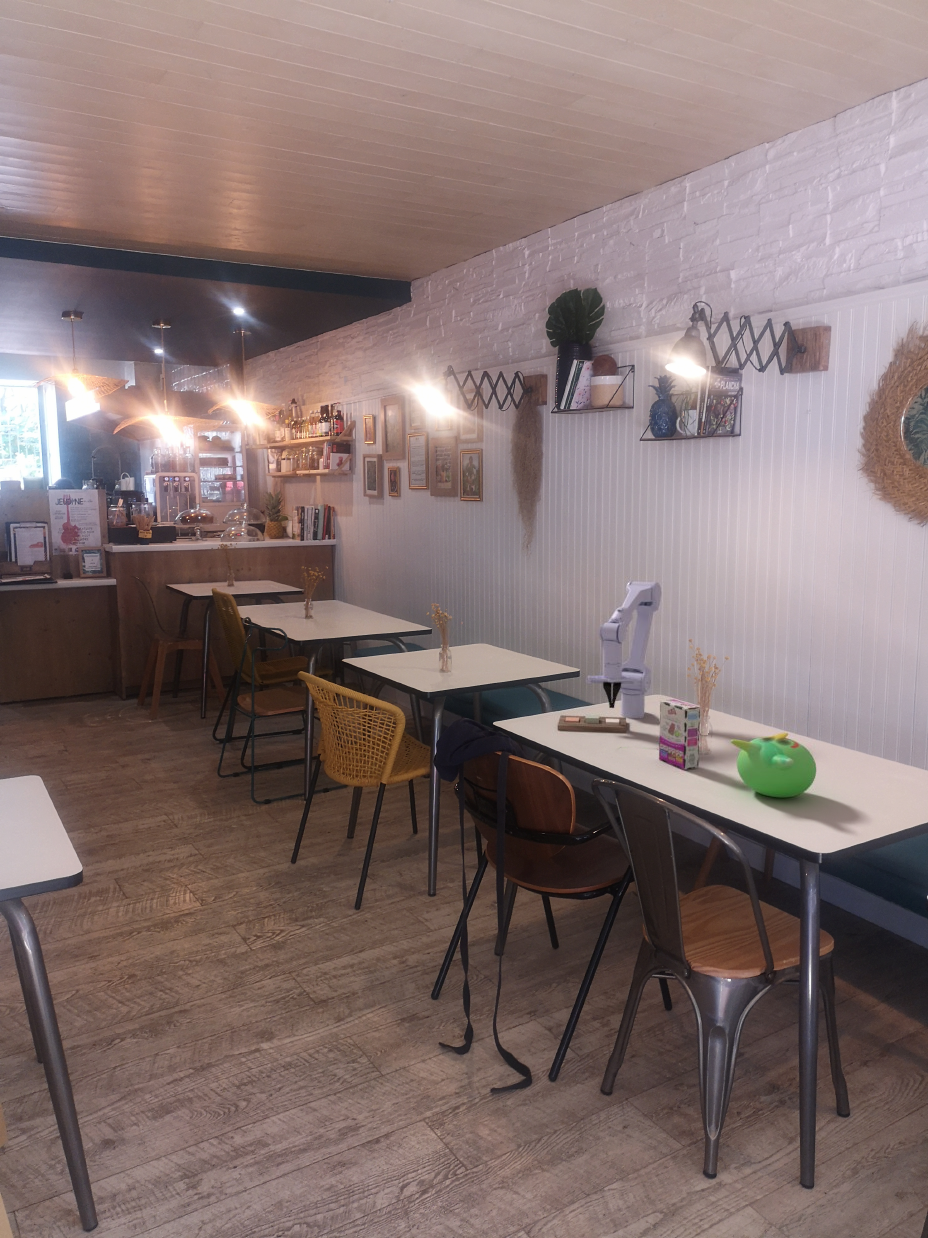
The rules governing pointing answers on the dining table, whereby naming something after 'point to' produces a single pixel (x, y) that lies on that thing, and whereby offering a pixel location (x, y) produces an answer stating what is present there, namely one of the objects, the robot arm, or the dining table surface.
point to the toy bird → (775, 765)
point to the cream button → (612, 721)
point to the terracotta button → (572, 719)
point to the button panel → (592, 725)
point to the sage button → (592, 719)
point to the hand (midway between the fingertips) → (611, 707)
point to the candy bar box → (679, 734)
